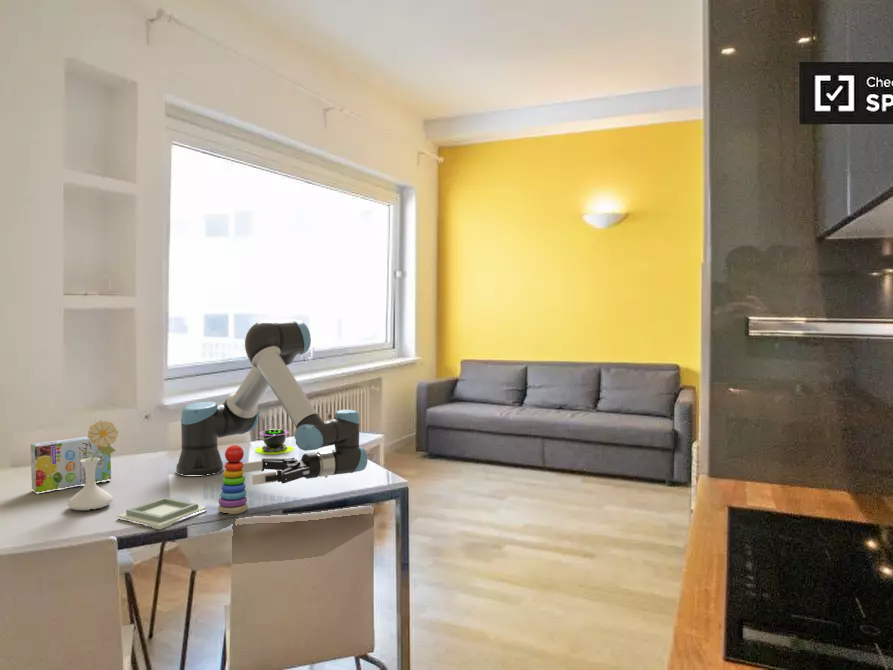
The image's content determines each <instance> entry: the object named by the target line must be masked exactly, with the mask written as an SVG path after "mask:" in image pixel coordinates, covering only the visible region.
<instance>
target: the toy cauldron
mask: <svg viewBox="0 0 893 670" xmlns="http://www.w3.org/2000/svg"><path fill="white" fill-rule="evenodd" d="M278 423H279V422H276V424H277V425H279V424H278ZM270 424H272V422H269V425H270ZM281 426H283V428H284V427H285V425H283V424H281ZM266 427H267V425H266V426H264V428H266ZM266 429H267V430H264V431H260V432H259V434H260V435H262V438H261V439H262V440H263V441H262V442H263V444H265V445H263V446H260V447H257V448H255V449H254V452H255V453H257V454H259V455H260V454H261V455H282V454H287V453H291V452H293V451H294V450H295V449H294V447H293V446H290V445H286V444H285V442H286V438H287V436H286V434H289V433H290V431H289V430H287V429H286V430H284V429H282V428H279V427H278V428H270V429H269V428H268V427H267V428H266Z"/></svg>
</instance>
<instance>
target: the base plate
mask: <svg viewBox="0 0 893 670" xmlns="http://www.w3.org/2000/svg"><path fill="white" fill-rule="evenodd" d="M205 509H207V507H205V506H202V505H199V503H195V502H191V501H186V500H180V499H175V498H170V497H166V496H165V497H163V498H159V499H156V500H152V501H150V502H146V503H143V504H140V505H138V506H135V507H132V508H129V509H127V510H126V511H125V512H124V513H120V514H117V517H120V518H123V519H126V520H131V521H136V522H139V523H143V524H147V525H150V526H152V528H151V529H156V530H162V529H165V528H167V527H170V526H173V525H174V524H173V523H174V522H176V521H177V520H179V519H181V518H183V517H186V516H188V515H191V514H193V513H196V512H199V511H202V510H205ZM172 524H173V525H172Z"/></svg>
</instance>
